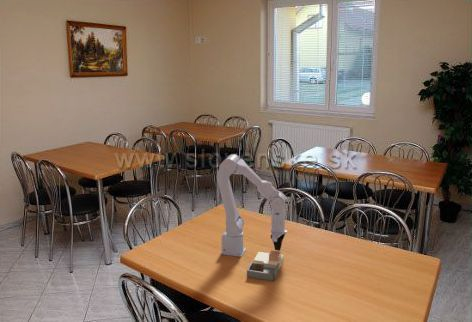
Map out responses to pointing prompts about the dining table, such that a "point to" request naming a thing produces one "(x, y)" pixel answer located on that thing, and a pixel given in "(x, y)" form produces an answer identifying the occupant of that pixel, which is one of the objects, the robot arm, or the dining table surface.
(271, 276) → the grey box
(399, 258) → the dining table surface
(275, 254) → the terracotta tile
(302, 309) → the dining table surface
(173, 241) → the dining table surface
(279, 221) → the robot arm
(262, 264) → the walnut block
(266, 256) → the white board
